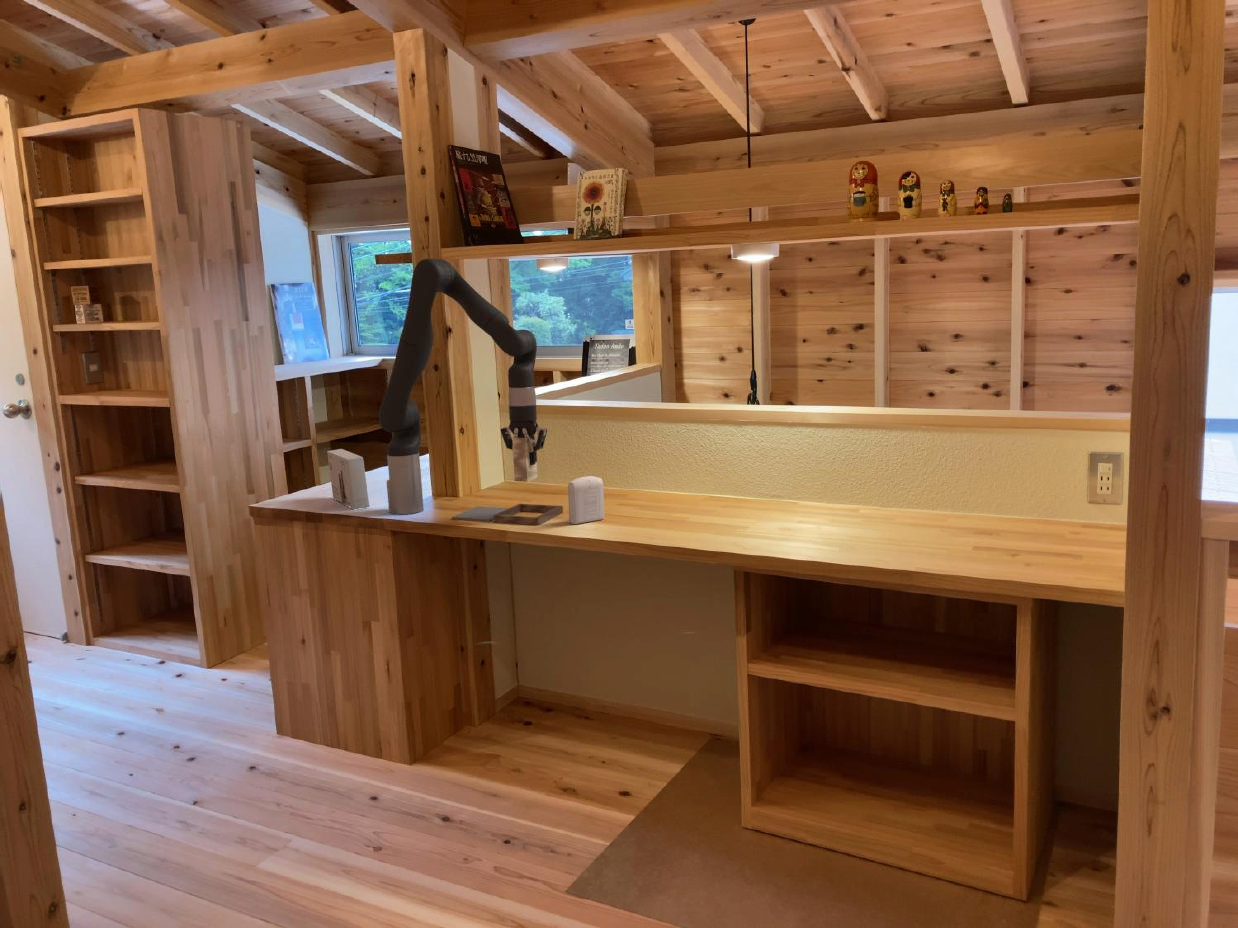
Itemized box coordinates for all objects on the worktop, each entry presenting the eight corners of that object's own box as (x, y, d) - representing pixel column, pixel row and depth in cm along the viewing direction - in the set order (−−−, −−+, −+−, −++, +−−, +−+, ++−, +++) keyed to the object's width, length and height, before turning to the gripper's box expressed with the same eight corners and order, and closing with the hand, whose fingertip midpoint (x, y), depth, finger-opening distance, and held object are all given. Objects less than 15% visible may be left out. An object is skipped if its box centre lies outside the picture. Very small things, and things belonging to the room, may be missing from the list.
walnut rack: (493, 522, 266) (493, 515, 266) (519, 510, 280) (519, 503, 279) (538, 525, 261) (538, 518, 260) (563, 512, 274) (562, 505, 274)
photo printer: (598, 516, 268) (596, 473, 265) (607, 519, 264) (605, 475, 262) (566, 522, 262) (564, 478, 260) (575, 525, 259) (572, 480, 256)
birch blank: (514, 481, 266) (512, 438, 264) (524, 476, 272) (522, 435, 269) (527, 481, 265) (525, 438, 262) (537, 477, 270) (535, 435, 268)
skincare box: (331, 499, 306) (326, 450, 303) (347, 497, 309) (343, 448, 306) (352, 510, 289) (347, 458, 286) (370, 507, 292) (365, 456, 289)
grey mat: (451, 519, 272) (451, 517, 272) (477, 508, 284) (477, 506, 284) (488, 521, 267) (488, 519, 267) (512, 510, 280) (512, 508, 280)
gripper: (492, 404, 264) (496, 465, 267) (539, 405, 258) (542, 468, 261) (506, 401, 270) (509, 461, 273) (551, 401, 265) (554, 463, 268)
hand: (525, 464), depth 267 cm, fingers closed on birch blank, 4 cm apart
